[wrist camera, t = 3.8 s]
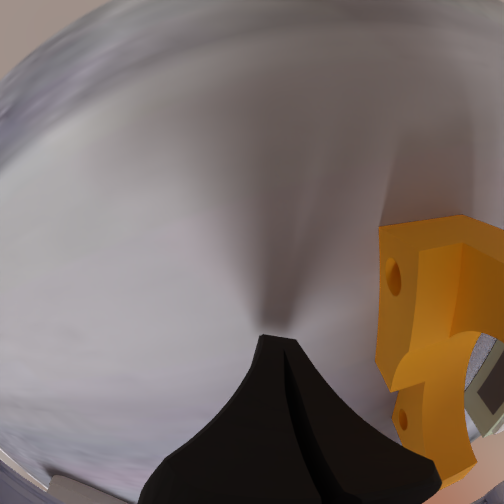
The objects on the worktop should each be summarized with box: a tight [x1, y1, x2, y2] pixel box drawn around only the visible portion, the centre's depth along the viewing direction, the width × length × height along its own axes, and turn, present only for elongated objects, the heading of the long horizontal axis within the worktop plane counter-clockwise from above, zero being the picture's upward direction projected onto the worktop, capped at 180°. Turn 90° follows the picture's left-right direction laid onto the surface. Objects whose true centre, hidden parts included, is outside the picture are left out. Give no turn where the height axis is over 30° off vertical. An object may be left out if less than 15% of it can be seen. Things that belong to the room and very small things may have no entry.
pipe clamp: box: [375, 215, 504, 491], centre depth 8 cm, size 12×4×6 cm, turn 10°
